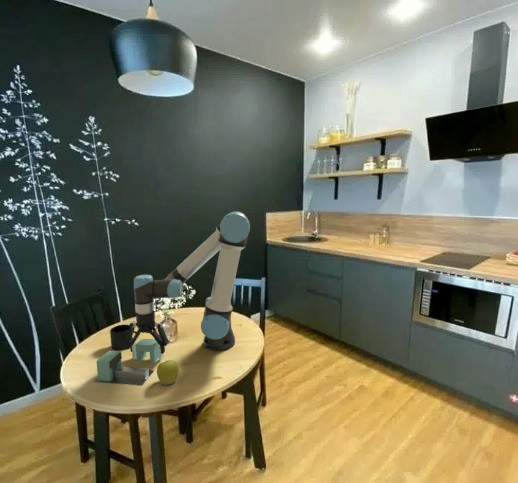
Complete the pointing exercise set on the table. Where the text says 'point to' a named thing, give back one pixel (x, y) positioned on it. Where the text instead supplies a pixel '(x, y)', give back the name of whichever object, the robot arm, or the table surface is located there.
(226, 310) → the robot arm
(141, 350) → the teal arch
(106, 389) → the table surface
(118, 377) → the rail base
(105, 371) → the teal notched block
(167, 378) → the apple
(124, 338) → the mug
